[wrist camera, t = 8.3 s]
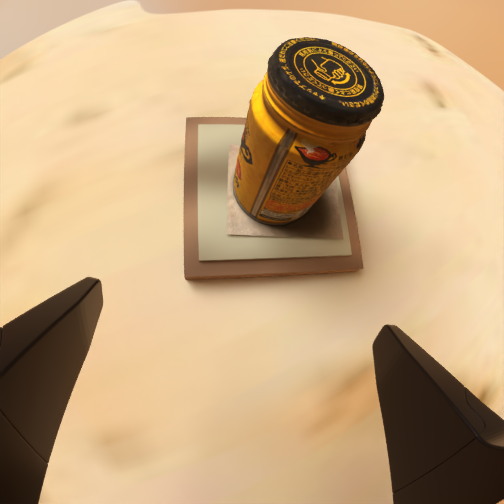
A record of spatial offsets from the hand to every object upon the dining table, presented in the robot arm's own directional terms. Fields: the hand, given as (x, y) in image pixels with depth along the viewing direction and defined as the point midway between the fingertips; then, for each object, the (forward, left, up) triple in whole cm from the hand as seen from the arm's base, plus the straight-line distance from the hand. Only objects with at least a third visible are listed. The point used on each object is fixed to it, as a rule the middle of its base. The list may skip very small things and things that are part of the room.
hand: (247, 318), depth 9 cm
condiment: (+9, -5, -11) cm, 15 cm away
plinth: (+10, -4, -12) cm, 16 cm away
